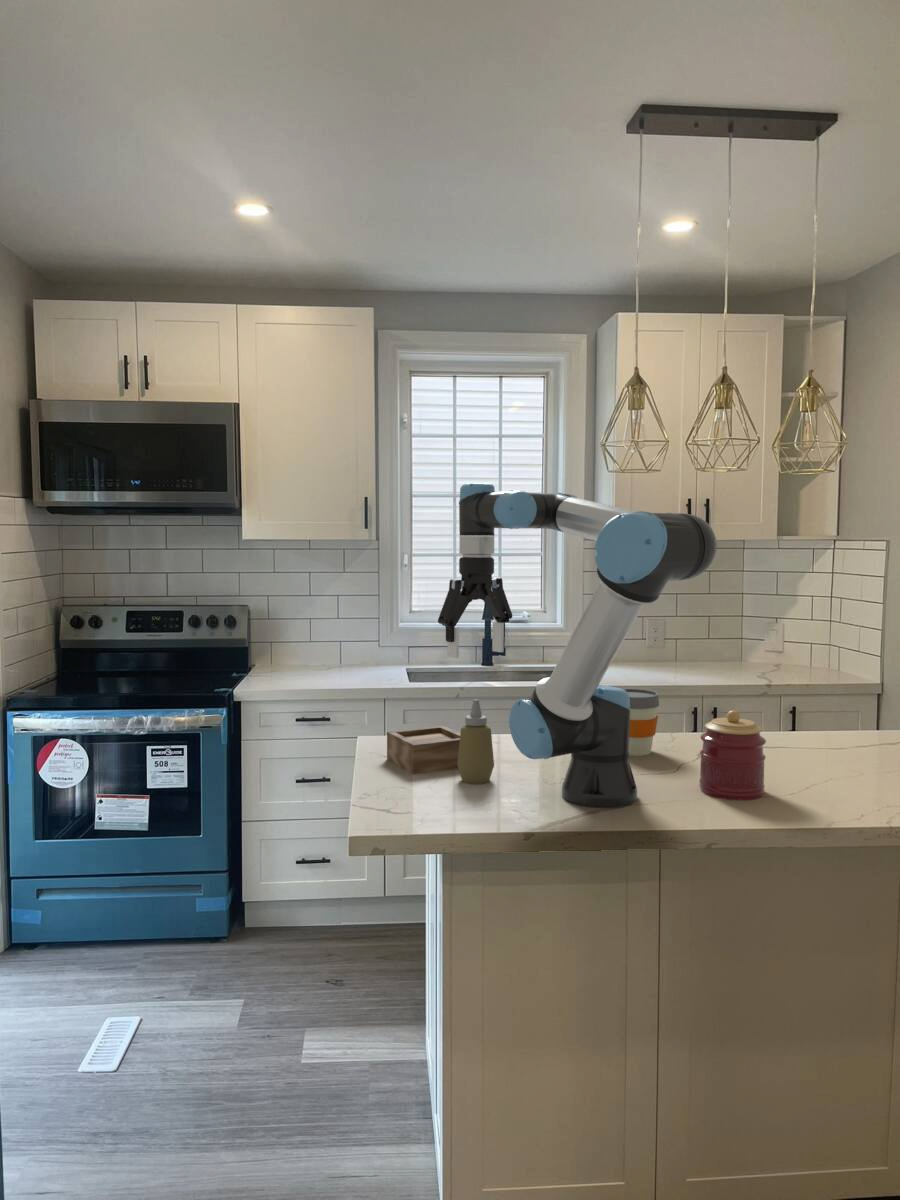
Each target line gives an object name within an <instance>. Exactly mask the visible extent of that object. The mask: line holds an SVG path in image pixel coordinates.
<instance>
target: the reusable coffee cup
mask: <svg viewBox="0 0 900 1200" xmlns="http://www.w3.org/2000/svg"><path fill="white" fill-rule="evenodd" d="M623 689H624V690H625V691H627V693H628V694H629V697H630V709H631V711H630V736H629V757H630V756H631V757H633V756H634V757H639V756H648V755H651V752H652V746H653V740H654V736H655V735H656V731H657V727H658V726H657V725H658V719H659V716H658V715H657V713H658V708H659V706H660V699H659V693H658V692H656V691H653V690H648V689H641V688H640V689H639V688H623Z"/></svg>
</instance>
